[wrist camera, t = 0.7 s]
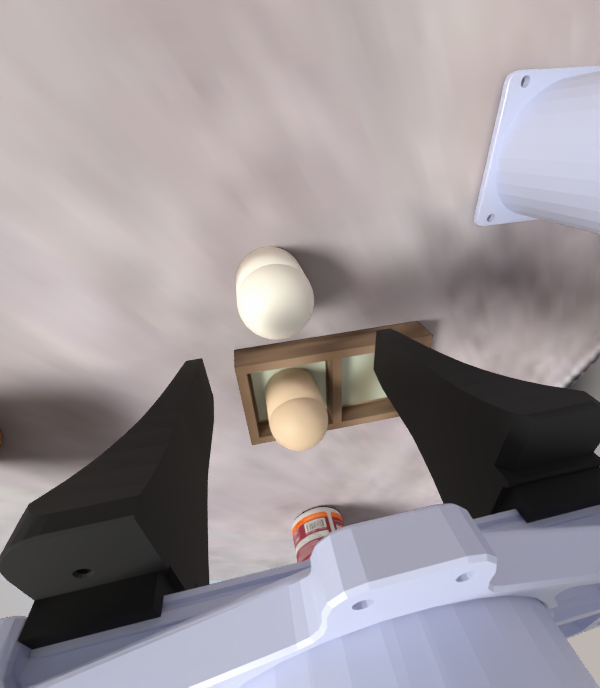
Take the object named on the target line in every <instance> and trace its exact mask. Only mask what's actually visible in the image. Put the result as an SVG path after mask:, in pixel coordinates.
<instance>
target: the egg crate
mask: <svg viewBox="0 0 600 688" xmlns="http://www.w3.org/2000/svg"><path fill="white" fill-rule="evenodd" d="M389 328H391V329H393V330H395V331H398V332H400V333H402V334H404V335H406V336H407V337H409V338H411V339H413V340H415V341H417V342H419V343H421V344H423V345H425V346H427V347H429V348H430V346H431V341H432V336H433V335H432V334H431V333H430V332H429V331H428V330H427V329H426V328H425V327H423V326H422V325H421V324H420V323H419V322H418V321H415V322H409V323H403V324H396V325H390V326H384V327H377V328H371V329H365V330H358V331H352V332H346V333H340V334H333V335H327V336H321V337H314V338H308V339H302V340H295V341H289V342H283V343H276V344H270V345H264V346H257V347H251V348H245V349H239V350H234V366H235V372H236V376H237V381H238V385H239V390H240V394H241V399H242V403H243V407H244V412H245V416H246V421H247V425H248V429H249V434H250V438H251V443H252V445H256V444H261V443H266V442H271V441H276V439H275V438H274V436H273V435H272V432H271V430H270V426H269V419H268V412H267V405H266V398H265V386H266V383H267V381H268V380H269V379H270V377H272V376H273V375H274V374H275V373H277V372H279V371H281V370H283V369H287V368H301V369H304V370H307V371H308V372H310V373H311V374H312V375H313V376H314V378H315V380H316V383H317V386H318V388H319V391H320V394H321V397H322V399H323V402H324V405H325V407H326V410H327V414H328V427H327V430H332V429H337V428H342V427H348V426H353V425H358V424H363V423H368V422H373V421H378V420H383V419H388V418H393V417H398V416H399V414H398V413H397V411H396V410H395V408H394V407H393V405H392V403H391V402H390V400H389V399H388V397H387V396H386V394H385V392H384V391H383V389H382V387H381V385H380V383H379V381H378V379H377V376H376V374H375V372H374V370H373V367H374V354H375V341H376V330H382V329H389Z"/></svg>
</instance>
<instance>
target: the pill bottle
mask: <svg viewBox="0 0 600 688" xmlns="http://www.w3.org/2000/svg"><path fill="white" fill-rule="evenodd" d="M343 527H345V526H344V523H343V520H342V517H341V515H340V513H339V512H338V511H337V510H335V509H333V508H329V507H318V508H314V509H311V510H308V511H306V512H304V513H303V514H301V515H300V516H298V517H297V518H296V520H295V521H294V523H293V525H292V533H293V539H294V545H295V551H296V556H297V562H298V563H299V562H303V561H307V560H310V557H311V554H312V552H313V550H314V547H315V545H316V544H317V542H318V541H320V540H321V539H322V538H324V537H325V536H326V535H327V534H329V533H330V532H332V531H335V530H337V529H340V528H343Z"/></svg>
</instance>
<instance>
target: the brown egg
mask: <svg viewBox="0 0 600 688" xmlns="http://www.w3.org/2000/svg"><path fill="white" fill-rule="evenodd" d="M265 398H266V405H267V412H268V419H269V426H270V430H271V432H272V435H273V436H274V438H275V439H276V441H277V442H278V443H279V444H281V445H282V446H283V447H285V448H287V449H290V450H295V451H303V450H307V449H310V448H312V447H314V446H315V445H317V444H318V443H319V442H320V441H321V440H322V438H323V437H324V435H325V433H326V431H327V427H328V414H327V410H326V407H325V405H324V402H323V399H322V397H321V394H320V391H319V388H318V386H317V383H316V380H315V378H314V376H313V375H312V374H311V373H310V372H308V371H307V370H304V369H301V368H287V369H283V370H281V371H279V372H277V373H275V374H274V375H273V376H272V377H270V379H269V380H268V381H267V383H266V386H265Z"/></svg>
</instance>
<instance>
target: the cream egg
mask: <svg viewBox="0 0 600 688" xmlns="http://www.w3.org/2000/svg"><path fill="white" fill-rule="evenodd" d="M236 291H237V306H238V311H239V314H240V316H241V318H242V320H243V322H244V323H245V325H246V326H247V327H248V328H249V329H250V330H251V331H253V332H254V333H255V334H257V335H259V336H261V337H264V338H268V339H284V338H288V337H291V336H293V335H295V334H296V333H298V332H299V331H301V330H302V329H303V328H304V327H305V325H306V324H307V323H308V321H309V320H310V317H311V315H312V312H313V308H314V294H313V290H312V287H311V285H310V282H309V281H308V279H307V277H306V276H305V274H304V272H303V270H302V269H301V267H300V265H299V263H298V262H297V260H296V259H295V258H294V257H293V256H292V255H291V254H290V253H289V252H287V251H285V250H283V249H281V248H277V247H262V248H259V249H256V250H254V251H252V252H251V253H249V254H248V255H247V256H246V257H245V258H244V259H243V260H242V261H241V263H240V265H239V267H238V269H237V273H236Z"/></svg>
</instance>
